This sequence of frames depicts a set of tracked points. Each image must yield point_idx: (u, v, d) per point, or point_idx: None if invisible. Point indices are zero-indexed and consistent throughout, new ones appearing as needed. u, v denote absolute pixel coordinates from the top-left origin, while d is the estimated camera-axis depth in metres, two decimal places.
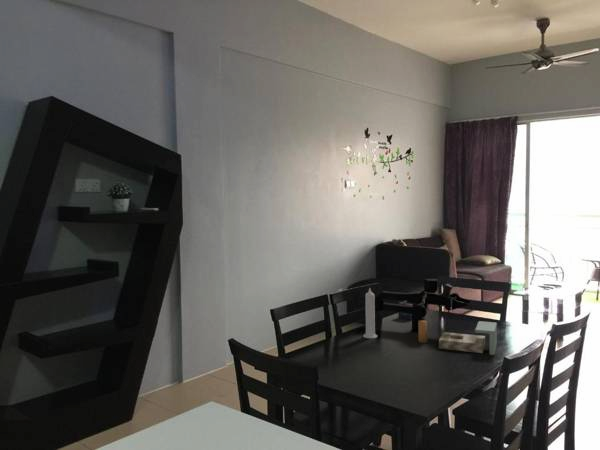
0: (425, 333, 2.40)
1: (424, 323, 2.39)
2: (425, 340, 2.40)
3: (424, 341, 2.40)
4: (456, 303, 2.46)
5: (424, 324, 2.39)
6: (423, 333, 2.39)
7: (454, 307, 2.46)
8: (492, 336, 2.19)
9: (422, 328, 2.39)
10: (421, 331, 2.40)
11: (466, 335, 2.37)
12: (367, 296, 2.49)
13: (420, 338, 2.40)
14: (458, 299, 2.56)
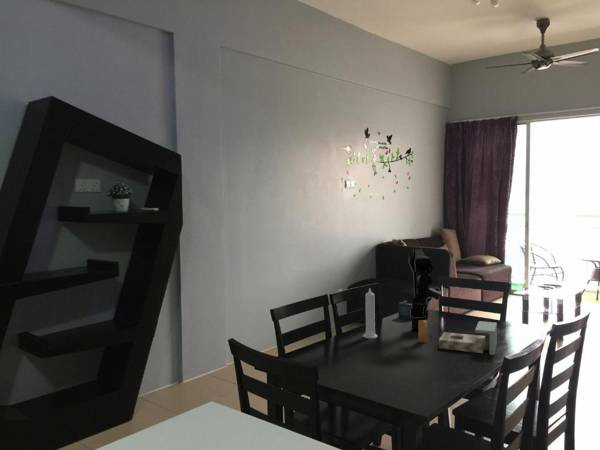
0: (425, 333, 2.40)
1: (424, 323, 2.39)
2: (425, 340, 2.40)
3: (424, 341, 2.40)
4: (421, 307, 2.35)
5: (424, 324, 2.39)
6: (423, 333, 2.39)
7: (416, 305, 2.35)
8: (492, 336, 2.19)
9: (422, 328, 2.39)
10: (421, 331, 2.40)
11: (466, 335, 2.37)
12: (367, 296, 2.49)
13: (420, 338, 2.40)
14: None
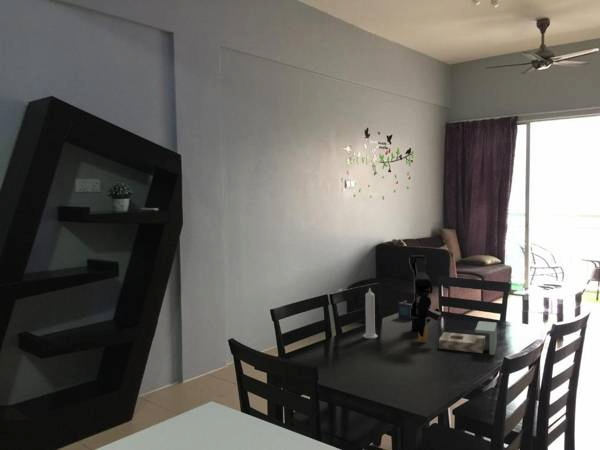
0: (425, 333, 2.40)
1: None
2: (425, 340, 2.40)
3: (424, 341, 2.40)
4: (421, 326, 2.38)
5: None
6: None
7: (417, 325, 2.38)
8: (492, 336, 2.19)
9: None
10: None
11: (466, 335, 2.37)
12: (367, 296, 2.49)
13: (420, 338, 2.40)
14: None
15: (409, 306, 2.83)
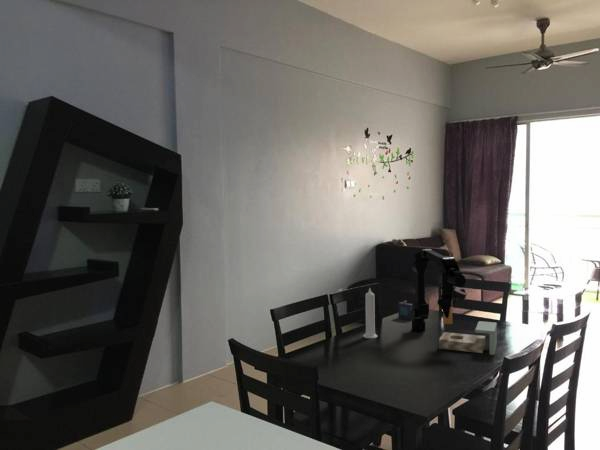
0: (450, 314, 2.33)
1: None
2: (450, 321, 2.33)
3: (449, 322, 2.33)
4: (447, 307, 2.31)
5: None
6: None
7: (442, 305, 2.32)
8: (492, 336, 2.19)
9: None
10: None
11: (466, 335, 2.37)
12: (367, 296, 2.49)
13: (445, 319, 2.34)
14: None
15: (409, 306, 2.83)
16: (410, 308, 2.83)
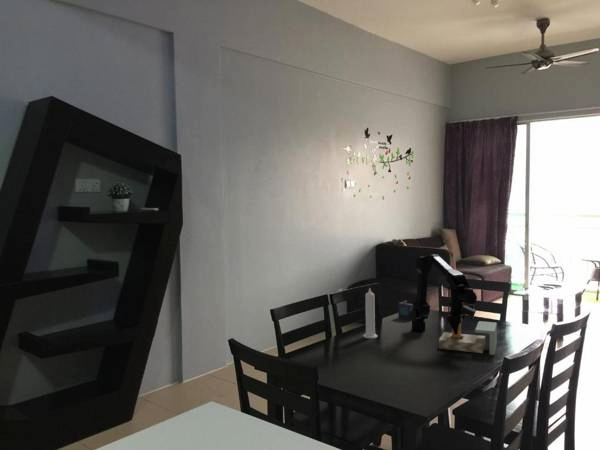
0: (459, 330, 2.32)
1: None
2: (459, 338, 2.32)
3: None
4: (456, 324, 2.30)
5: None
6: None
7: (451, 322, 2.30)
8: (492, 336, 2.19)
9: None
10: None
11: (466, 335, 2.37)
12: (367, 296, 2.49)
13: (454, 336, 2.32)
14: None
15: (409, 306, 2.83)
16: (410, 308, 2.83)
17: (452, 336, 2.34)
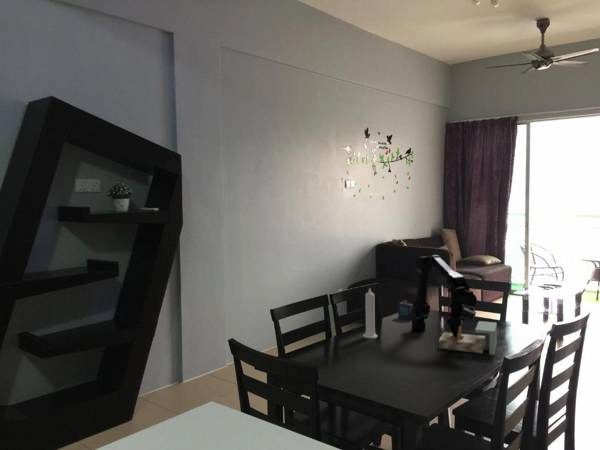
0: (459, 337, 2.32)
1: None
2: None
3: None
4: (455, 327, 2.29)
5: None
6: (457, 337, 2.32)
7: (451, 325, 2.29)
8: (492, 336, 2.19)
9: None
10: None
11: (466, 335, 2.37)
12: (367, 296, 2.49)
13: None
14: None
15: (409, 306, 2.83)
16: (410, 308, 2.83)
17: None
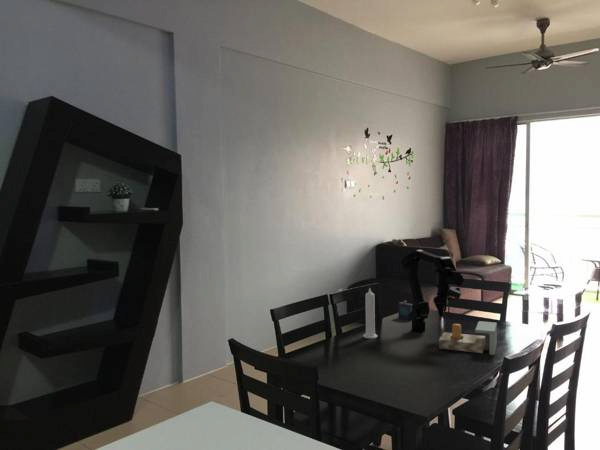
0: (459, 337, 2.32)
1: (458, 327, 2.31)
2: None
3: None
4: (441, 306, 2.39)
5: (458, 328, 2.32)
6: (457, 337, 2.32)
7: (437, 304, 2.39)
8: (492, 336, 2.19)
9: (456, 332, 2.32)
10: (455, 335, 2.32)
11: (466, 335, 2.37)
12: (367, 296, 2.49)
13: None
14: None
15: (409, 306, 2.83)
16: (410, 308, 2.83)
17: None
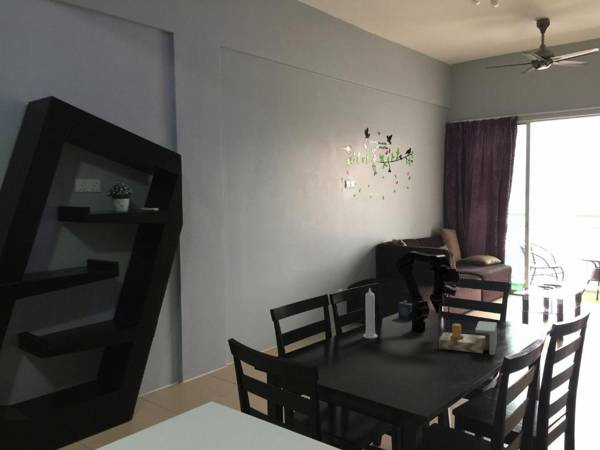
0: (459, 337, 2.32)
1: (458, 327, 2.31)
2: None
3: None
4: (437, 303, 2.43)
5: (458, 328, 2.32)
6: (457, 337, 2.32)
7: (433, 301, 2.43)
8: (492, 336, 2.19)
9: (456, 332, 2.32)
10: (455, 335, 2.32)
11: (466, 335, 2.37)
12: (367, 296, 2.49)
13: None
14: None
15: (409, 306, 2.83)
16: (410, 308, 2.83)
17: None
